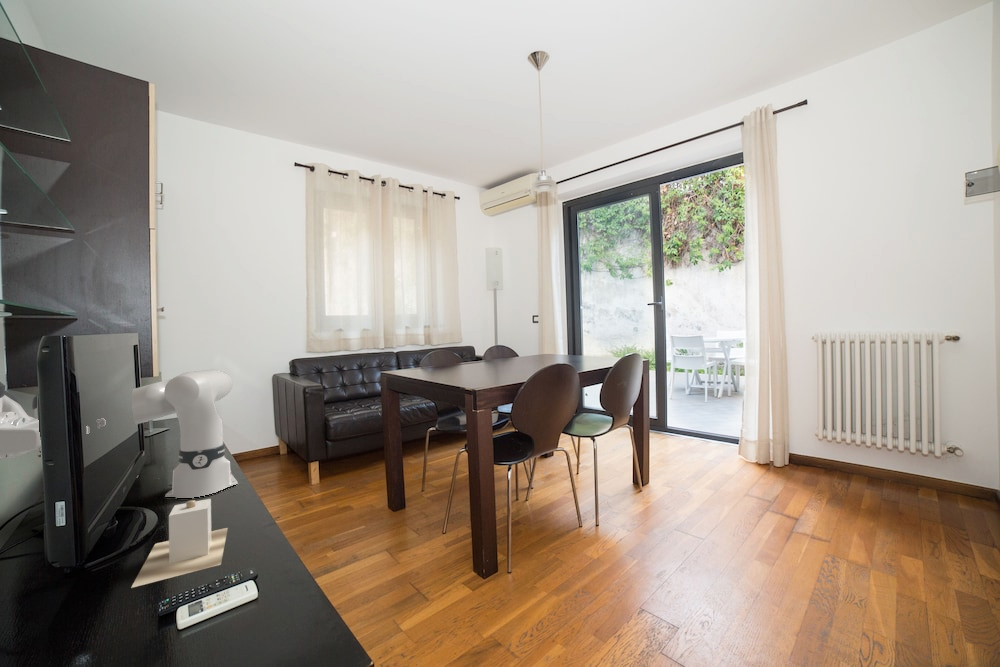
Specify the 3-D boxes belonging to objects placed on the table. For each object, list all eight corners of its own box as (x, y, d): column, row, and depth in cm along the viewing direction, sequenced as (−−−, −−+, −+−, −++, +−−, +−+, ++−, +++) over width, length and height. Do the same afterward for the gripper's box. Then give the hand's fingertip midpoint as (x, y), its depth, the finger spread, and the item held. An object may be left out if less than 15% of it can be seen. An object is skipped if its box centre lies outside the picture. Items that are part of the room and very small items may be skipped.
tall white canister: (175, 550, 89) (174, 499, 89) (211, 541, 92) (210, 493, 93) (169, 563, 83) (168, 510, 84) (208, 554, 87) (207, 502, 87)
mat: (155, 546, 92) (155, 543, 92) (227, 530, 100) (227, 527, 100) (130, 591, 75) (130, 587, 75) (220, 567, 82) (220, 564, 82)
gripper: (25, 441, 85) (112, 432, 92) (-36, 465, 68) (78, 451, 75) (25, 412, 85) (112, 405, 93) (-36, 428, 68) (78, 418, 75)
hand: (97, 426), depth 84 cm, fingers open, 8 cm apart
